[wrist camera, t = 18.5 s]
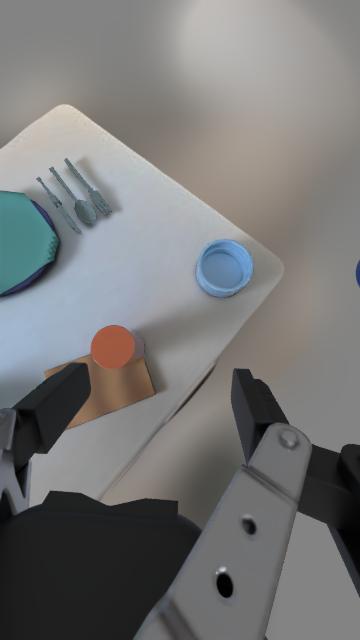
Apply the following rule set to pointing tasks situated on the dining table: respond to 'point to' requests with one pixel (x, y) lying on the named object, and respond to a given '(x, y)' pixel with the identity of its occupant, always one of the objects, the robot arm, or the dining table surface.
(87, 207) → the cutlery set
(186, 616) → the robot arm
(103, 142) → the dining table surface
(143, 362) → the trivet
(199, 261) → the bowl
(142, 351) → the terracotta cylindrical canister
